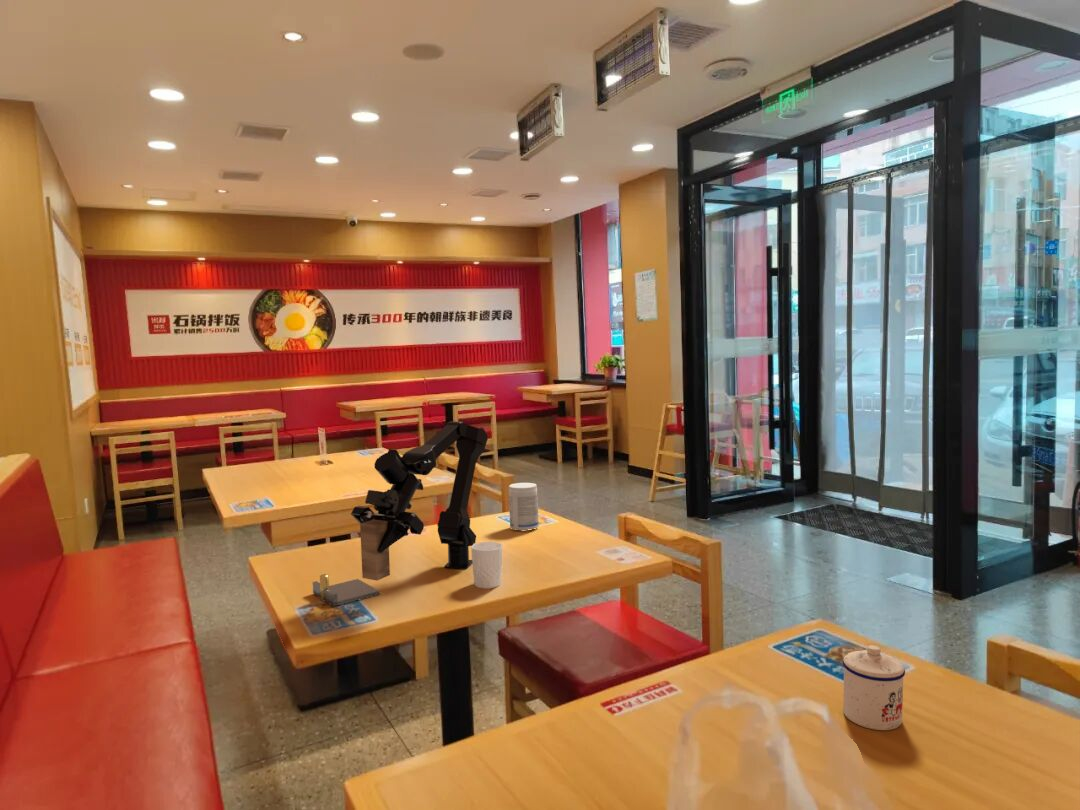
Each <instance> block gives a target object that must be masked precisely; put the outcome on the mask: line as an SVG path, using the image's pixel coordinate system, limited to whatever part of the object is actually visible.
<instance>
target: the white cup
mask: <svg viewBox="0 0 1080 810" xmlns="http://www.w3.org/2000/svg"><path fill="white" fill-rule="evenodd" d="M470 549H471V560H472V563H471V565H472V572H473V573H472V574H473V584H474V586H475V587H477V588H480V589H493V588H494V589H495V588H497V587H500V585H501V583H502V567H503V545H502V543H499V542H496V541H481V542H478V543H477V542H475V543H474V544H473V545H472V546H470Z"/></svg>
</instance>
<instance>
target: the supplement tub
mask: <svg viewBox="0 0 1080 810" xmlns="http://www.w3.org/2000/svg"><path fill="white" fill-rule="evenodd" d="M537 485H538V484H536V483H533V482H516V483H511V484H510V485H509V486H508V507H509V510H508V511H509V528H510V529H511V528H512V529H516V530H528V529H534V528H537V527H538V528H539V525H540V523H539V499H538V487H537ZM538 528H537V529H538ZM512 529H511V530H512Z"/></svg>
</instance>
